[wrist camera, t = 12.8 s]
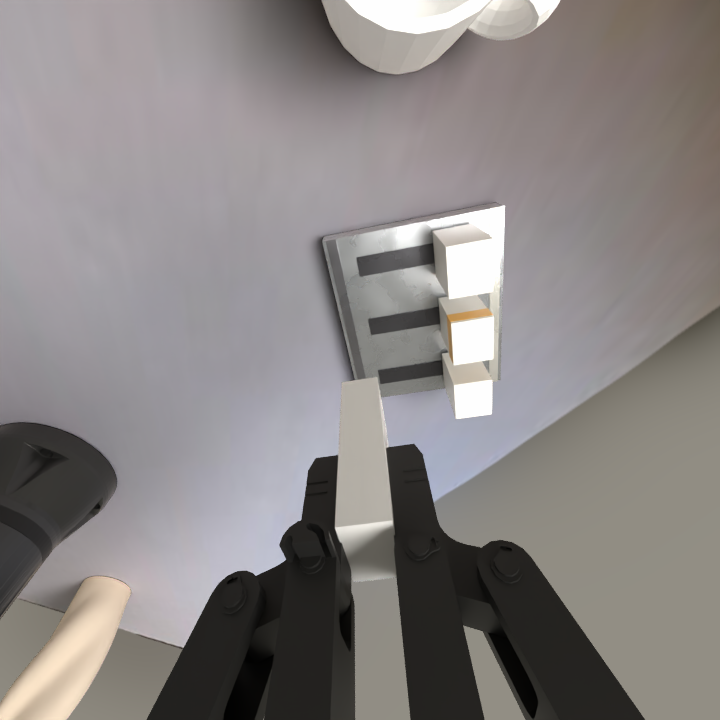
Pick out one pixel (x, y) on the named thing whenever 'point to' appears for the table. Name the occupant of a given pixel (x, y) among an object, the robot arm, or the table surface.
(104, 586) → the water bottle
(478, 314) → the block
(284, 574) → the robot arm
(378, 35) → the mug
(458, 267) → the block
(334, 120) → the table surface
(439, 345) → the panel
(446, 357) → the breaker low
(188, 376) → the table surface
